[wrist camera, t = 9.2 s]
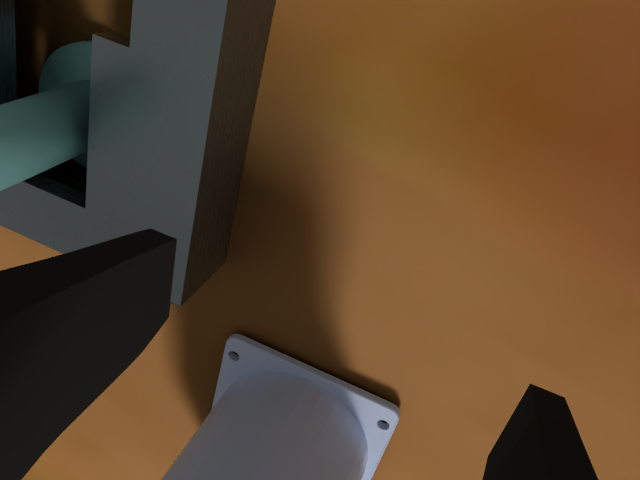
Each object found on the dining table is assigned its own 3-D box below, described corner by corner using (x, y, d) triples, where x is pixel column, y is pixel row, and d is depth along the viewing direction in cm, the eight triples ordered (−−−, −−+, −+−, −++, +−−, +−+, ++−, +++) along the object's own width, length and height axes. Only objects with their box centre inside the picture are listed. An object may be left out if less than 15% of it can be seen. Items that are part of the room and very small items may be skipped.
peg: (152, 187, 24) (-27, 299, 16) (50, 138, 25) (-166, 225, 17) (172, 70, 21) (-31, 141, 14) (57, 19, 22) (-195, 61, 15)
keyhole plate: (224, 263, 24) (180, 306, 21) (-13, 160, 26) (-82, 188, 23) (316, -208, 16) (264, -239, 13) (-41, -304, 18) (-152, -349, 15)
